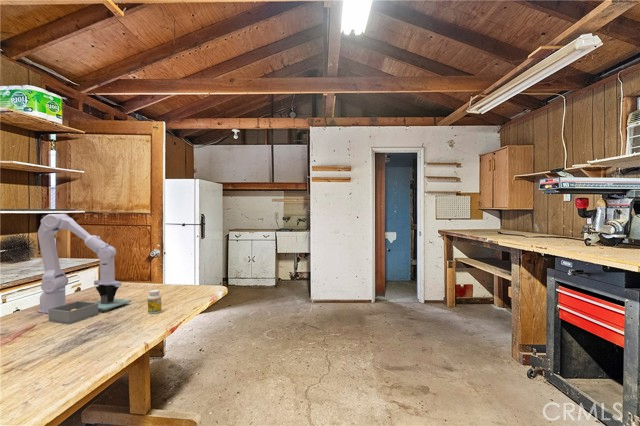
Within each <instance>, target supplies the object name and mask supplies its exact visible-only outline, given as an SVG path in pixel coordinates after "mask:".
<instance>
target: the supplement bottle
mask: <svg viewBox="0 0 640 426" xmlns="http://www.w3.org/2000/svg"><path fill="white" fill-rule="evenodd" d="M148 294H149V295H148V297H147V313H148V314H149V315H155V314H160V313H161V312H162V295H161V294H160V289H152V290H149V292H148Z"/></svg>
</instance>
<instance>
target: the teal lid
mask: <svg viewBox="0 0 640 426" xmlns="http://www.w3.org/2000/svg"><path fill="white" fill-rule="evenodd" d="M92 303H98V311H99V310H100V311H106V310H110V309H113V308H116V307H119V306H123V305H125V304H129V303H132V300H131V299H122V298H114V301H111V302H109V301H108V295H107V294H106V295H102V296H101V297H100V300H98V301H94V302H92Z"/></svg>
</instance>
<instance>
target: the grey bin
mask: <svg viewBox="0 0 640 426" xmlns="http://www.w3.org/2000/svg"><path fill="white" fill-rule="evenodd" d="M72 309H76V310H73V311H71V310H72ZM47 315H48V322H52V323H58V324H64V325H71V324H74V323H78V322H81V321H83V320H87V319H90V318H92V317H95V316H98V315H99V309H98V303H93V302H91V301H83V300H77V301H73V302H70V303H66V304H65V305H62V306H58V307H54V308H51V309H48V313H47Z"/></svg>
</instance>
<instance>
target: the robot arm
mask: <svg viewBox="0 0 640 426" xmlns="http://www.w3.org/2000/svg"><path fill="white" fill-rule="evenodd" d="M60 230H68V231H70V233H72V234H74V235H76V236H77V237H79V238H80V239H81V240H83V241H84V245H85V246H86V247H87V248H89V249H90V250H91V251H93V253H96V256H97V258H98V259H99V279H97V280H94V281H93V286H95V289H96V291H97V292H98V294H99V296H100V298H101V296H102V295H106V294H107V295H108V301H109V302H111V301H114V299H115V297H116V293H117V291H118V290H119V288H120V287H122V282H121V281H119V280H116V278H115V276H116V275H115V274H116V273H115V272H116V269H115V268H116V267H115V265H116V264H115V256H116V255H117V249H116V248H115V246H112V245H109V243H106V242H105V241H103V240H102V239H101V237H100V236H99V235H93V234H92V235H91V234H90V233H89V232H88V231H87V230H85V229H84V228H83V227H82V226H81V225H79V224H78V223H77V221H75V220H74V218H72V217H70V216H69V215H67V214H65V213H49V214H47V215H45V216H44V217H43V218H41V219H40V225H39V228H38V230H37V237H38V242H39V248H40V252H41V258H42V259H41V260H42V263H43V264H42V265H43V268H44V273H43V274H42V276H41V281H42V282H41V283H40V288H41V290H42V293H41V295H40V296H39V310H37V313H42V314H48V309H51V308H54V307H58V306H62V305H65V304H67V303H66V286H68V283H69V278H68V276H66V273H65V270H63V269H62V268H61V264H60V260H59V258H60V257H59V254H58V249H57V244H56V239H55V235H56V234H57V233H58V232H59V231H60Z"/></svg>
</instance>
